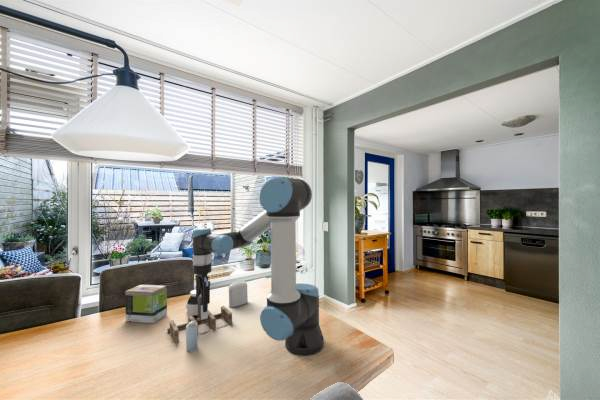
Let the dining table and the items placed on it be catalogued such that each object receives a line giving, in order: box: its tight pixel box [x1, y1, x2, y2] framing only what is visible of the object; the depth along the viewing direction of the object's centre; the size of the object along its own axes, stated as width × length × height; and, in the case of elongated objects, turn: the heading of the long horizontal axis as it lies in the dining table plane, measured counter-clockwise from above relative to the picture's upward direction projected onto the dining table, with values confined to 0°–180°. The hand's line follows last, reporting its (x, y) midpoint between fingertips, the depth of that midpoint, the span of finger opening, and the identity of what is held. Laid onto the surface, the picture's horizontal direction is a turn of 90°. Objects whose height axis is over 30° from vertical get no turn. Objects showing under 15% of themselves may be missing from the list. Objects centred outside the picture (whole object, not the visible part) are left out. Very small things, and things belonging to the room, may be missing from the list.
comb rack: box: [166, 305, 233, 344], centre depth 111 cm, size 11×26×5 cm, turn 128°
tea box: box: [124, 284, 168, 324], centre depth 121 cm, size 15×10×15 cm, turn 80°
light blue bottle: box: [185, 321, 199, 352], centre depth 96 cm, size 4×4×10 cm
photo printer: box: [228, 280, 249, 308], centre depth 135 cm, size 10×4×12 cm, turn 127°
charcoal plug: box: [197, 294, 202, 320], centre depth 109 cm, size 4×4×10 cm
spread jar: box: [185, 288, 198, 319], centre depth 125 cm, size 12×11×12 cm
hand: (202, 316), depth 109 cm, fingers closed on charcoal plug, 4 cm apart
